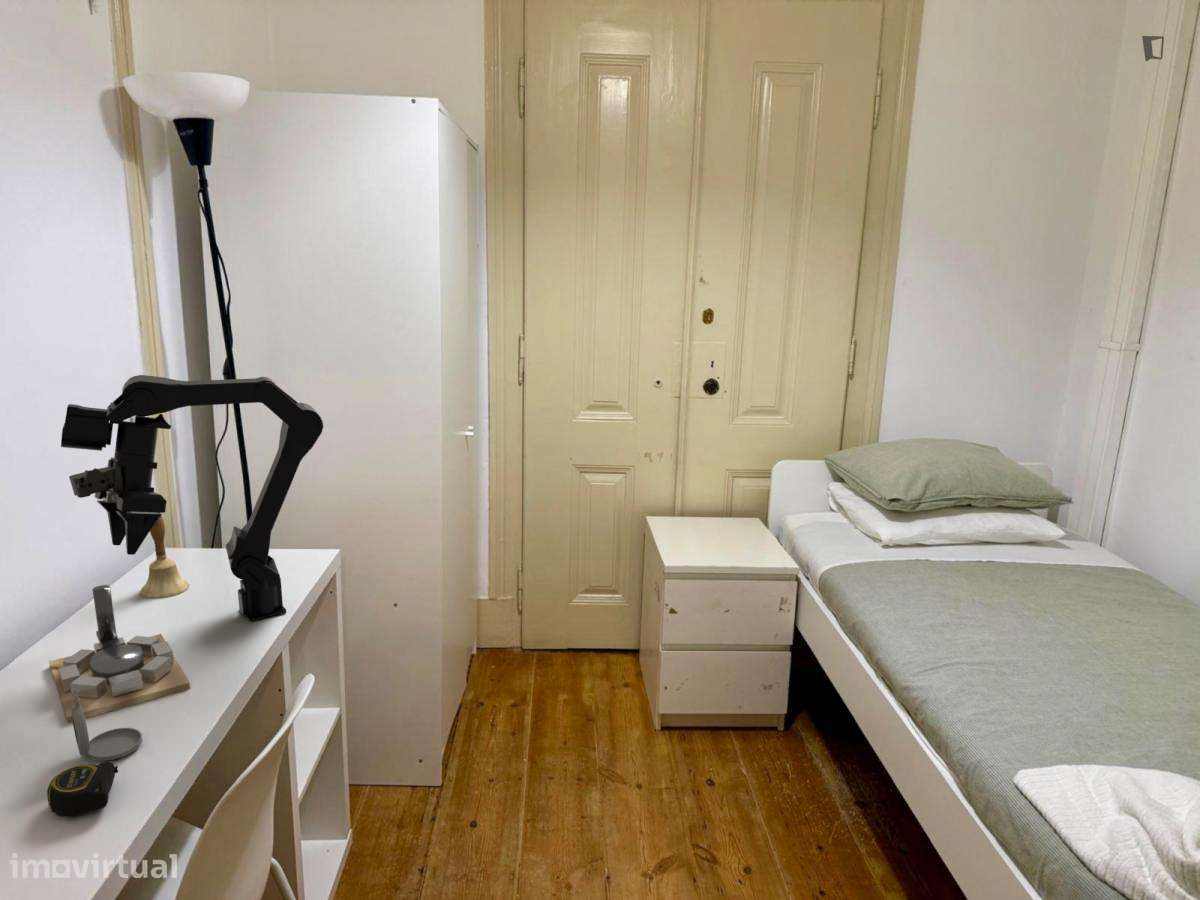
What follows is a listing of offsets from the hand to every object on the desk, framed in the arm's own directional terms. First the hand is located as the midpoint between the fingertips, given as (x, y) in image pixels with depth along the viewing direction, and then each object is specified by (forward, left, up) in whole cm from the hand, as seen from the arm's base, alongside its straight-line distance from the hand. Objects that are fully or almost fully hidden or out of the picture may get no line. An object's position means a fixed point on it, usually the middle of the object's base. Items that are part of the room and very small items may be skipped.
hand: (123, 549), depth 138 cm
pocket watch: (+9, +30, -17) cm, 36 cm away
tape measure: (+12, +40, -17) cm, 46 cm away
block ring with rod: (+4, +10, -15) cm, 19 cm away
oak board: (+4, +11, -17) cm, 20 cm away
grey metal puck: (+4, +11, -17) cm, 20 cm away
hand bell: (-9, -20, -17) cm, 27 cm away
